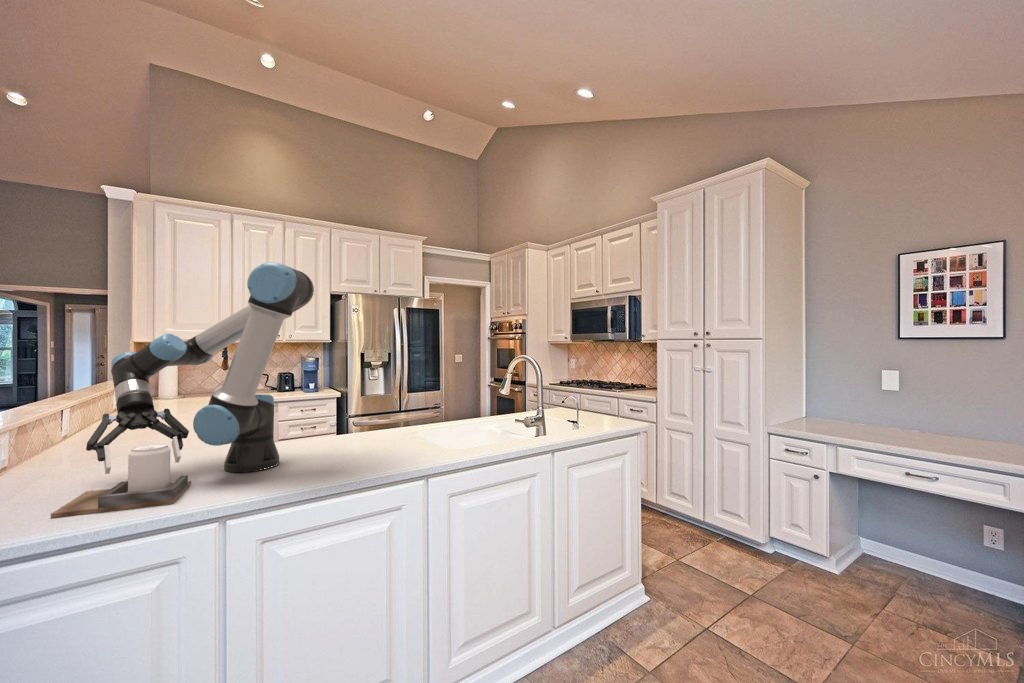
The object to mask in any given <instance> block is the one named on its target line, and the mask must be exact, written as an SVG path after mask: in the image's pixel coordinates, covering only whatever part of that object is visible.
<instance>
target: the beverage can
mask: <svg viewBox="0 0 1024 683" xmlns="http://www.w3.org/2000/svg"><path fill="white" fill-rule="evenodd" d="M130 449H131V450H130V451H129V452H128V454H127V455H128V456H127V457H128V458H127V461H128V462H127V463H128V466H127V481H128V492H138V491H147V490H157V489H166V488H169V487H170V483H171V448H170V447H169V444H168V443H159V442H157V443H148V444H140V445H135V446H133V447H131V448H130Z"/></svg>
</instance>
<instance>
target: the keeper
mask: <svg viewBox="0 0 1024 683" xmlns="http://www.w3.org/2000/svg"><path fill="white" fill-rule="evenodd" d="M188 477H189V475H185V474H184V475H180V476H179V477H178V478H177V479H176V480H175V481H174V482H170V487H169V488H166V489H157V490H147V491H138V492H128V480H125V481H120V482H118V483H117V484H116V485H114V486H112V487H111V488H108V489H97V490H88V491H85V492H83V493H81V494H80V495H78V496H77V497H75V498H74V499H72V500H70V501H68V502H67V503H66V504H64V505H63V506H61V507H60V508H58V509H56V510H54V511H52V512H51V513H50V519H56V518H65V517H75V516H83V515H89V514H91V515H92V514H99V513H106V512H107V513H109V512H114V511H124V510H131V509H132V510H133V509H141V508H149V507H150V508H151V507H157V506H158V507H159V506H165V505H174V504H175V503H176V501H177V500H179V498H181V496H182V495H183V494H184V493H185V492H184V491H186V490H187V489H188V488H189V487H190V486H191V485H192V480H188ZM190 484H191V485H190ZM189 485H190V486H189ZM188 486H189V487H188ZM187 487H188V488H187ZM186 488H187V489H186ZM183 492H184V493H183ZM182 493H183V494H182ZM181 494H182V495H181ZM180 495H181V496H180ZM74 515H75V516H74Z"/></svg>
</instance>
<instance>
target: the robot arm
mask: <svg viewBox="0 0 1024 683" xmlns="http://www.w3.org/2000/svg"><path fill="white" fill-rule="evenodd" d="M246 281H247V283H246V284H247V289H248V292H249V294H250V296H249V299H248V300H247V304H248V305H246V306H245V307H243V308H241V309H240V310H238V311H236V312H234V313H233V314H231V315H230V316H228V317H225V319H222V320H221V321H218V322H217V323H216V324H214V325H212V326H210V327H209V328H207V329H205V330H203V331H201V332H200V333H198V334H196V335H194V336H193V337H191V338H189V339H188V340H183V339H181V338H180V337H179V336H177V335H174V334H173V333H164V334H162V335H161V336H159V337H157V338H154V339H153V340H152V341H150V343H148V344H147V345H145V346H143V347H142V348H141V349H139V350H138V351H136V352H135V351H126V352H124V353H118V354H117V355H116V356H114V357H113V358H112V360H111V371H110V372H111V376H112V383H113V387H114V388H113V390H114V396H115V402H116V413H117V414H116V415H110V414H109V413H104V414H102V417H101V422H100V423H99V425H98V426H97V428H96V429H95V431H94V432H93V433H92V435H91V436H90V438H89V439H88V441H87V442H86V447H85V450H86V451H95V453H96V457H97V462H99V463H100V462H104V463H103V465H104V474H105V475H107V474H110V473H111V468H112V464H111V456H110V448H109V445H110V444H112V442H114V440H116V439H117V438H118V437H119V436H120V435H121V434H123V433H125V432H126V430H130V431H135V430H138V429H139V430H140V429H141V430H144V429H147V428H148V429H151V430H155V431H157V432H158V433H160V434H161V435H164V436H165V437H167V438H169V439H171V447H172V448H171V449H172V453H173V458H174V462H175V464H176V463H180V460H181V457H182V455H181V451H182V450H183V447H184V443H183V442H184V441H183V439H187V438H188V435H189V433H190V430H188V428H187V427H185V426H184V424H182V423H181V422H180V421H179V420H178V419H177V418H176V417H175V416H174V415H172V412H171V410H170V409H169V408H164V409H163V410H162V411H157V410H155V406H154V405H155V404H154V401H153V396H152V395H153V394H152V390H151V389H152V388H151V385H150V378H151V377H152V376H154V375H156V374H157V373H159V372H160V371H162V370H163V369H165V368H167V367H175V366H177V367H178V366H198V365H202V364H206V363H208V362H210V360H211V359H212V358H213V356H214V354H217V353H218V352H220V351H222V350H223V349H225V348H226V347H229V346H230V345H232V344H234V343H236V342H237V341H238V344H237V347H236V349H235V352H234V355H233V358H232V360H231V361H230V365H229V367H228V370H227V373H226V374H225V378H224V380H223V383H222V385H221V387H220V388H219V389H216V390H214V391H213V392H212V393H211V397H210V399H209V401H208V404H207V405H205V406H203V407H201V408H200V409H198V411H197V412H196V414H194V417H193V421H192V422H193V423H192V426H193V427H192V428H193V431H194V433H195V434H196V436H197V438H198V439H199V440H200V441H201V442H203V443H204V444H207V445H209V446H215V447H217V446H225V445H230V447H229V448H228V452H227V453H226V454H227V455H226V456H225V460H224V462H223V470H224V471H225V472H227V471H228V473H234V472H242V473H248V472H247V471H253V472H256V471H255V470H260V469H264V468H268V467H271V466H274V465H276V464H277V463H279V464H280V455H279V452H278V449H277V445H276V442H275V440H274V438H275V437H274V433H275V432H274V430H275V429H274V428H275V425H274V424H275V407H276V405H275V398H274V396H273V395H271V394H264V393H263V394H262V393H261V394H259V393H258V394H256V393H257V390H258V389H259V388H258V387H259V385H260V383H261V381H262V377H263V374H264V372H265V369H266V367H267V366H268V362H269V359H270V357H271V354H272V351H273V349H274V346H275V345H276V340H277V339H278V336H279V333H280V330H281V328H282V326H283V323H284V320H286V319H288V318H291V317H292V316H293V313H295V312H296V311H298V310H300V309H302V308H304V307H305V306H306V305H307V304H309V303H310V301H311V300H312V298H313V296H314V294H315V293H314V292H315V291H314V290H315V289H314V288H315V287H314V284H313V281H312V279H311V278H310V277H309V275H307V274H306V273H304V272H303V271H301V270H297V269H295V268H293V267H290V266H288V265H286V264H283V263H279V262H273V261H272V262H264V263H262V264H260V265H257V266H256V267H254V269H253V270H252V271H251V272H250V273H249V275H248V278H247V280H246ZM159 418H160V419H161V421H160V419H159ZM163 420H164V422H165V423H164V422H162V421H163ZM114 422H116V423H117V424H118V425H117V426H115V427H114V428H113V429H112V430H111V431H110V432H109V433H108V434H107V435H105V436H104V437H103V438H102V436H103V434H104V433H105V431H106V430H107V429H108V426H110V425H111V424H113V423H114ZM101 438H102V439H101ZM100 439H101V440H100ZM99 440H100V441H99ZM274 467H275V466H274ZM260 471H261V470H260Z"/></svg>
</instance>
